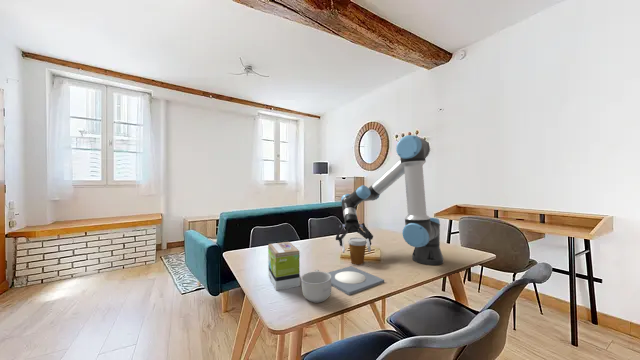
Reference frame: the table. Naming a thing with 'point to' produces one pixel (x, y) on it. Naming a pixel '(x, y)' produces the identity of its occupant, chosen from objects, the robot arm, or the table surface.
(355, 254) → the disposable coffee cup
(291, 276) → the tea box
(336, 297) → the table surface
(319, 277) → the teacup
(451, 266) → the table surface
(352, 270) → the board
